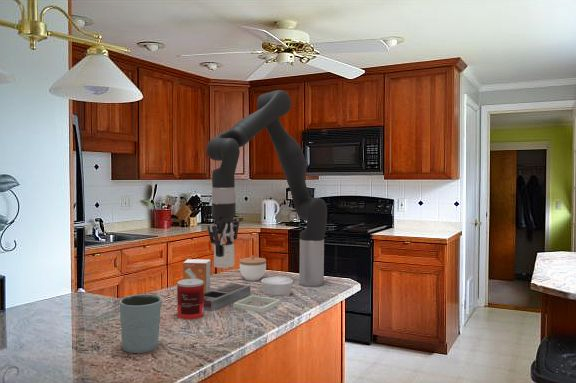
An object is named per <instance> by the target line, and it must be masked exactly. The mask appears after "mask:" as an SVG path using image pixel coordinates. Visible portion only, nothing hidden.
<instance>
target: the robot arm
mask: <svg viewBox="0 0 576 383" xmlns="http://www.w3.org/2000/svg"><path fill="white" fill-rule="evenodd" d="M256 107H257V110H256V111H254V112H252V113H250V114H248V115H247V116H245V117H244V118H242V119H241V120H239V121H237V122H236V123H235V124H233V126H232V127H231V128H229V129H228V130H226V131H223V132H221V133H220V134H218V135H216V136H214V137H212V139H211V140H209V142H208V143H207V146H206V155H207V156H208V158H209V159H210V160H213V161H216V162H217V161H219V162H221V163H220V166H219V167H218V168H215V169H213V170H212V174H211V175H212V176H211V179H212V180H211V185H212V187H211V188H212V189H211V217H212V218H214V221H213V224H211V225H208V226H207V231H208V235H209V241H210V244H214V245H215V246H216V256H217V257H222V256H223V245H222V244H223V243H224V240H225V243H230V244H234V241H235V240H237V239H238V233H239V227H240V226H239V225H240V221H239V220H234V217H236V215H237V212H236V211H237V210H236V209H237V205H236V203H237V202H236V188H235V187H236V186H235V184H236V183H235V174H236V171H237V167H238V166H237V165H238V162H239V159H240V158H239V157H240V148H242V147H244V146H246V144H248V143H249V142H250V141H251V140H252V139H253V138H254V137H255V136H257V134H258V133H260V132H261V131H263V130H264V129H265V128H266V130H267V133H268V135H269V137H270V140H271V142H272V145H273V147H274V149H275V153H276V155H277V158H278V161H279V163H280V167H281V168H282V171H283V174H284V176H285V177H284V178H285V179H286V181H287V186H288V187H289V190H290V194H291V197H292V201H293V205H294V208H295V209H294V210H295V213H296V214H297V217H299V219H301V220H302V221H306V227H305V229H304V230H303V229H302V230H301V231H300V232H299V285H301V286H305V287H320V286H323V285H324V280H325V279H324V271H325V267H324V266H325V265H324V264H325V260H324V259H325V236H326V235H325V234H326V232H327V222H328V221H327V219H328V206H327V203H326V201H325V200H324V199H323V198H320V197H314V196H313V197H312V196H311V195H310V192H309V190H308V187H307V183H306V176H307V162H306V158H305V155H304V153H303V150H302V147H301V145H300V143H298V141H296V140H295V138H293V136H292V135H290V133H288V132H287V130H286V129H285V127H284V126H283V124H282V122H281V121H280V118H281V117H283V116H285V115H287V114H288V113H289V112H290V110H291V108H292V100H291V97H290V95H289V94H288V93H287V92H286V91H284V90H281V89H277V90H276V89H275V90H273V91H270V92H265V93H262V94H260V95H259V96H258V97H257V101H256Z"/></svg>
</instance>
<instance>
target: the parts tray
mask: <svg viewBox="0 0 576 383" xmlns="http://www.w3.org/2000/svg"><path fill="white" fill-rule="evenodd" d="M251 301H256V302H262V303H268V304H266V305H264V306H256V305H250V304H247V303H250V302H251ZM281 304H282V300H281V299H279V298H272V297H266V296H259V295H251V294H250V295H249V296H246V297H244V298H242V299H239V300H237V301H235V302H232V308H233V309H238V310H245V311H251V312H256V313H257V312H258V313H267V312H268V311H269V310H271V309H273V308H275V307H277V306H279V305H281ZM275 310H277V308H276V309H275ZM275 310H274V309H273V310H272V311H270V312H269V313H268V314H270V313H271V312H273V311H275Z"/></svg>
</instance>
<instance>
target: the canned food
mask: <svg viewBox="0 0 576 383" xmlns="http://www.w3.org/2000/svg"><path fill="white" fill-rule="evenodd" d="M176 292H177V293H176V294H177V296H176V300H177V301H176V302H177V303H176V305H177V318H179V319H182V320H196V319H201V318H202V317H204V316H205V315H204V312H205V310H204V283H203V280H200V279H184V280H183V279H180V280H178V281H177V287H176Z"/></svg>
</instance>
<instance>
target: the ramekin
mask: <svg viewBox="0 0 576 383" xmlns="http://www.w3.org/2000/svg"><path fill="white" fill-rule="evenodd" d="M260 283H261V288H262V293H263V294H264V295H269V296H287V297H288V296H290V295H291V293H292V288H293V284H294V281H293V279H292V278H290V277H286V276H269V277H264V278H261V279H260Z"/></svg>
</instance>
